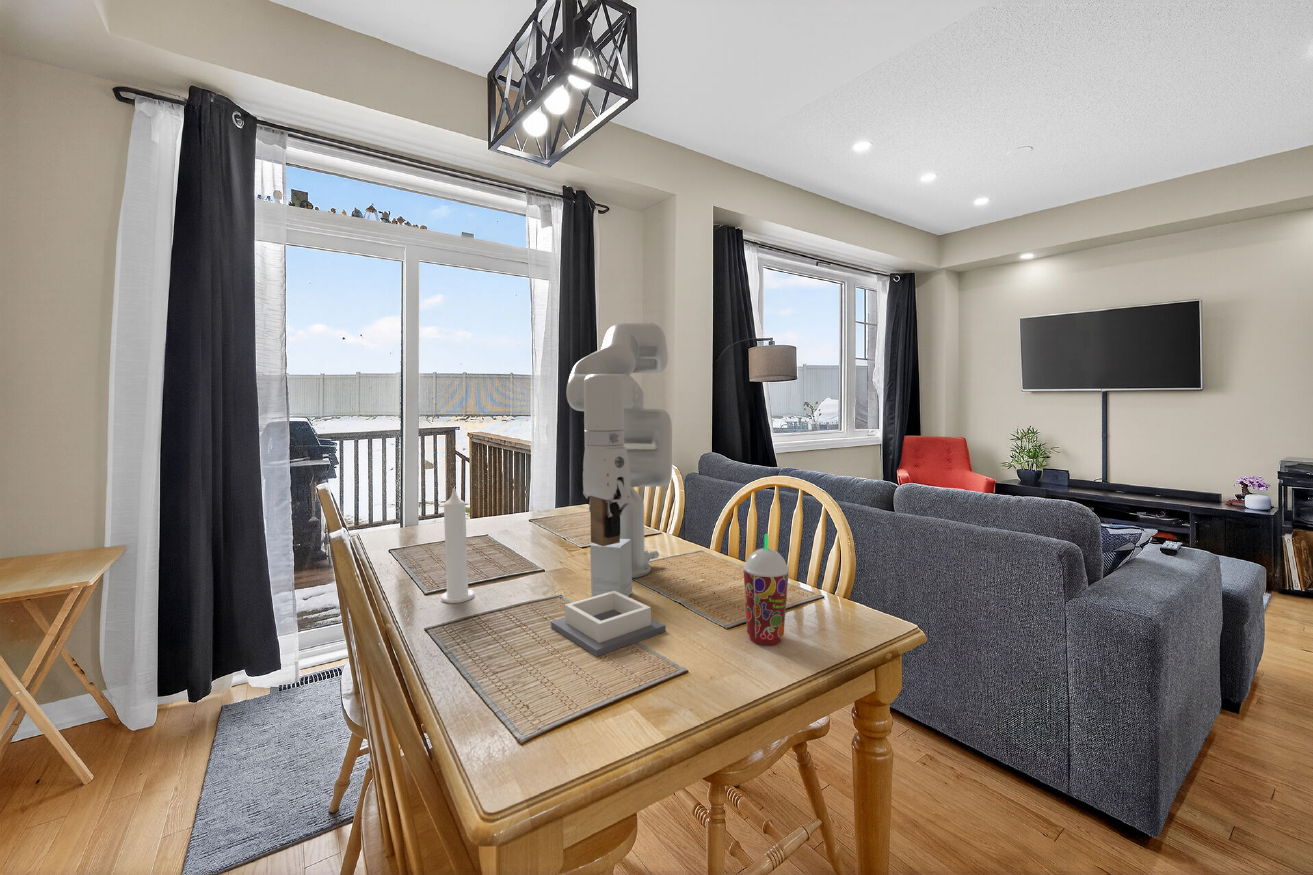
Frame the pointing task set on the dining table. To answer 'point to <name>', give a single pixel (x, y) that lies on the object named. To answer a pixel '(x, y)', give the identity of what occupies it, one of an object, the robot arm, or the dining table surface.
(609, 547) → the supplement box
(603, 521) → the block
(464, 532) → the candle
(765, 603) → the smoothie
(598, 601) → the collar stand
